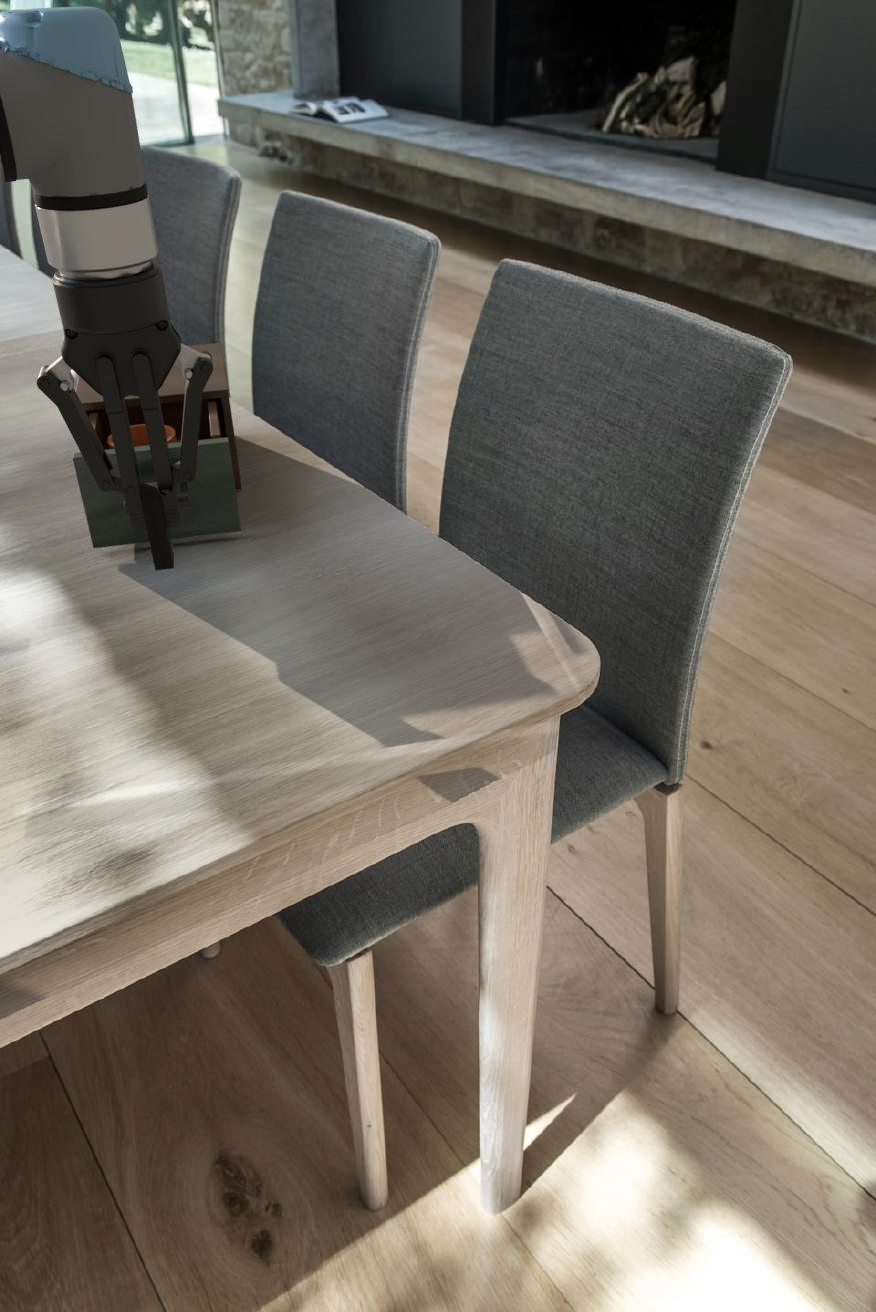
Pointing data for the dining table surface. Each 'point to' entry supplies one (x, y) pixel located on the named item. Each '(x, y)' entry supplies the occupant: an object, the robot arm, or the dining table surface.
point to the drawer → (200, 501)
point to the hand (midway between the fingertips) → (164, 561)
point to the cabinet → (176, 392)
